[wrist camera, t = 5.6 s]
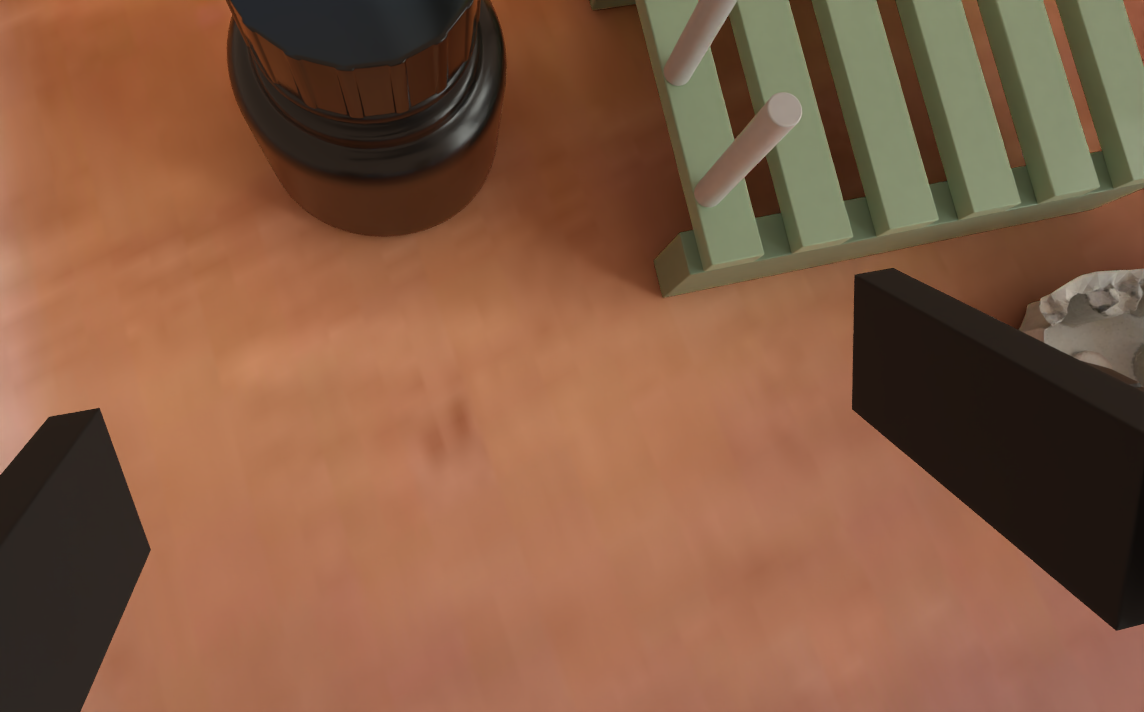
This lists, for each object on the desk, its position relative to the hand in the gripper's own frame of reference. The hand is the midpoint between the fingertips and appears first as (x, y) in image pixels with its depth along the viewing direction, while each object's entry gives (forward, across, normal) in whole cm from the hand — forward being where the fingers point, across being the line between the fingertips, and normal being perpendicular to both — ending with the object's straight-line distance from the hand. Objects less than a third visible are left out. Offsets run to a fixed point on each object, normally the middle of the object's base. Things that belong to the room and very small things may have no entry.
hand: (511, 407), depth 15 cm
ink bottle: (+22, +2, -2) cm, 22 cm away
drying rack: (+22, -18, -1) cm, 28 cm away
